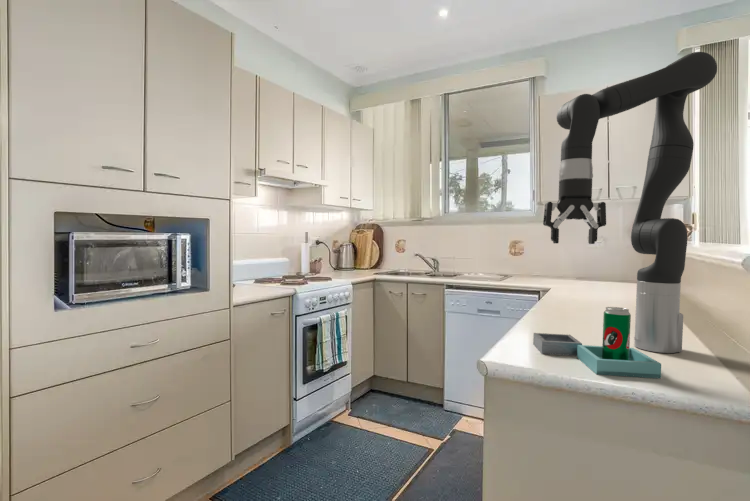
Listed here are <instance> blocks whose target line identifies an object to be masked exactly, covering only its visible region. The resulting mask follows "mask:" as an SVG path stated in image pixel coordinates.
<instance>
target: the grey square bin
mask: <svg viewBox="0 0 750 501" xmlns="http://www.w3.org/2000/svg"><path fill="white" fill-rule="evenodd" d="M532 337H533V338H532V341H533V342H532V343H533V344H532V345H534V347H535V348H536V349H537V351H539V352H540V354H541V355H553V356H554V355H555V356H556V355H558V356H570V357H575V356H576V357H577V345H583V343H582V341H581V342H580V341H579V340H578V339H577V338H575V337H574V336H572V335H571V334H563V333H562V334H561V333H544V332H543V333H541V332H533V336H532Z"/></svg>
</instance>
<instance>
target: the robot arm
mask: <svg viewBox="0 0 750 501" xmlns="http://www.w3.org/2000/svg"><path fill="white" fill-rule="evenodd" d="M717 72H718V63H717V61H716V59H715V57H714V56H713V55H712V54H710V53H708V52H706V51H695V52H691V53H688V54H686V55H684V56H682V57H681V58H678V59H677V60H675V61H673V62H671V63H670V64H668V65H667V66H666V67H663V68H660V69H658V70H656V71H653V72H649V73H648V74H644V75H641V76H639V77H635V78H632V79H629V80H626V81H625V80H624V81H623V82H619V83H617V84H613V85H611V86H607V87H605V88H602V89H600V90H599V91H597V92H595V93H593V94H590V93H583V94H580V95H577V96H576V97H574V98H572V99H571V100H569V101H567V102H566V103H564V104H563V105H561V106H560V108H558V110H557V114H556V122H557V124H558V125H559V126H560V128H563V129H564V130H569V131H568V134H567V136H566V137H565V138H564V139H563V140H562V142H561V144H560V145H561V146H560V164H559V169H558V170H559V173H558V200H557V202H552V201H546V202H545V203H544V212H543V220H542V221H543V222H542V224H543V226H544V227H548V228H550V241H551V242H552V243H553V244H559V242H560V241H559V240H560V229H559V226H560V225H562V223H563V222H564V221H565V220H577V221H578V220H583V222H584V223H586V225H587V226H588V227H589V229H588V242H587V243H588V244H589V245H594V244H595V243H596V242H597V241H598V229H600V228H601V227H605V226H606V225H607V206H606V202H605V201H601V202H593V198H592V197H593V177H594V173H593V169H594V168H593V167H594V166H593V140H594V139H595V135H596V131H597V129H598V125H599V121H600V120H601V119H604V118H608V117H611V116H615V115H618V114H621V113H623V112H626V111H630V110H632V109H634V108H637V107H640V106H641V105H643V104H646V103H648V102H651V101H652V100H654V99H655V100H656V101H655V114H654V115H655V117H654V122H653V129H652V136H651V142H650V146H649V151H648V156H647V163H646V164H647V165H646V170H645V176H644V180H643V181H644V182H643V187H642V190H641V191H642V192H641V196H640V199H639V203H638V207H637V210H636V213H635V216H634V219H633V222H632V223H633V225H632V228H631V234H630V241H631V242H630V243H631V246H632V248H633V250H634V251H635V252H637V253H638V254H641V255H642V254H643V255H653V256H654V255H655V259H654V261H653V263H652V264H650V265H648V266H645V267H642V268H639V269H638V271H637V273H636V298H635V320H634V321H635V322H634V337H633V338H634V339H633V340H634V344H633V345H634V346H635V348H637V349H640V350H643V351H644V350H645V351H648V352H654V353H662V354H663V353H664V354H675V353H682V352H683V333H684V332H683V330H684V314H683V313H680V312H681V311H680V309H681V308H680V307H681V306H680V305H681V284H682V276H683V274H684V271H685V266H686V258H687V257H686V256H687V247H688V230H687V227H686V225H685V223H684V221H682V220H681V219H679V218H674V217H673V218H672V217H671V218H669V217H668V218H664V217H663V218H662V214H663V210H664V207H665V205H666V202H667V201H668V199H669V198H670V197H671V195H672V193H673V192H674V191H675V190H676V189H677V188H678V187H679V185H680V184H681V183H682V182H683V180H684V179H685V177H686V176H687V175H688V173H689V170H690V168H691V162H692V158H693V152H694V145H695V144H694V139H693V135H692V134H691V131H690V130H689V128H688V126H687V124H686V122H685V118H684V111H685V110H684V109H685V105H686V100H687V97H688V95H690V94H692V93H694V92H697V91H699V90H701V89H703V88H704V87H707V86H708V85H709V84H710V83H711V82H713V80H714V79H715V77H716V75H717V74H718V73H717ZM556 208H557V210H558V212H559V214H558V215H557V216H556V217H555V219H554V220H553V221H552V213H553V211H555V209H556ZM592 209H594V211H595V212H596V220H595V218H594V217H593V215H592V214H591V211H592Z"/></svg>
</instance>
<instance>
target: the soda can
mask: <svg viewBox="0 0 750 501" xmlns="http://www.w3.org/2000/svg"><path fill="white" fill-rule="evenodd" d="M631 316H632V315H631V312H630V309H628V308H625V307H618V306H606V307H605V310H604V311H603V316H602V317H603V318H602V319H603V320H602V321H603V322H602V342H601V343H602V345H601V346H602V359H612V360H629V348H631V347H630V346H631V345H630V344H631V342H630V341H631V321H632V320H631Z"/></svg>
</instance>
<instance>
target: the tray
mask: <svg viewBox="0 0 750 501" xmlns="http://www.w3.org/2000/svg"><path fill="white" fill-rule="evenodd" d="M576 358H577V359H578V360H579V361H581V363H582V364H584V365H585V366H586V367H587V368H588V369H590V370H591V371H592V372H593V373H594V374H595V375H599V376H613V377H614V376H616V377H630V378H631V377H632V378H647V379H661V377H662V363H661V362H659V361H657V360H656V359H654V358H652V357H650V356H648V355H646V354H645V353H643V352H642V351H640V350H638V349H636V348H635V347H630V348H629V360H612V359H602V345H586V344H585V345H583V344H582V345H577V356H576Z"/></svg>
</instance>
